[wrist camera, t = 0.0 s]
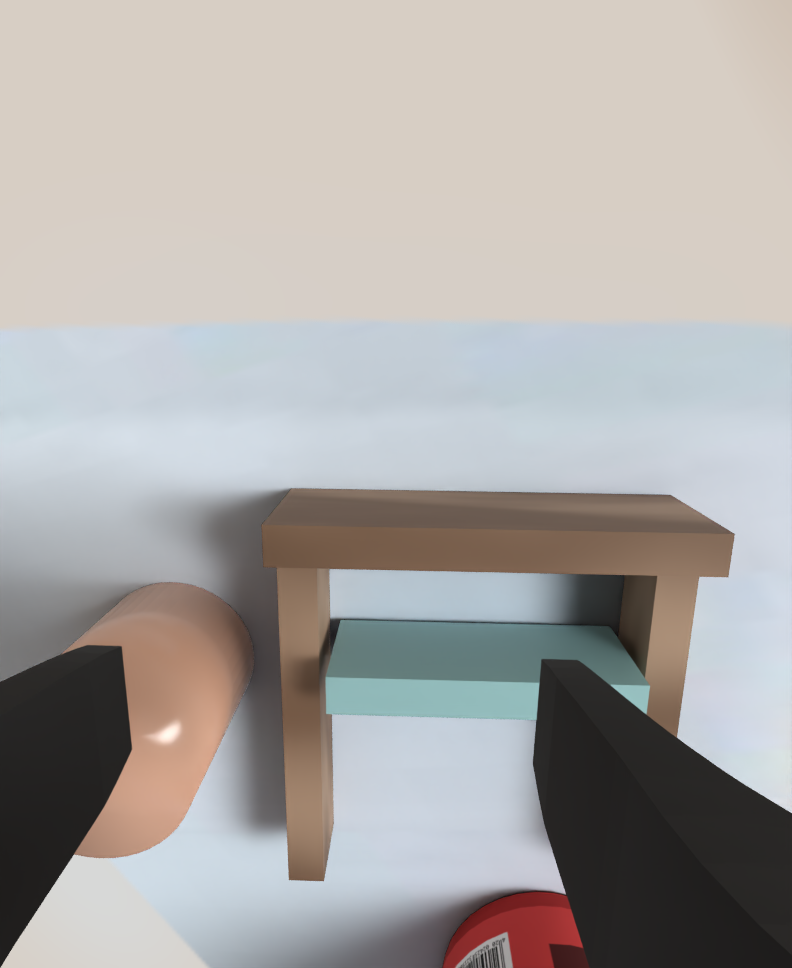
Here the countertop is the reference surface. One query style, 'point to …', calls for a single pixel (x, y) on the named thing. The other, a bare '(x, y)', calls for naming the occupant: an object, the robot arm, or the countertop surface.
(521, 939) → the canned food
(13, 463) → the countertop surface
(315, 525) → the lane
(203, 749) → the tan rounded cylinder
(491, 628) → the plate
